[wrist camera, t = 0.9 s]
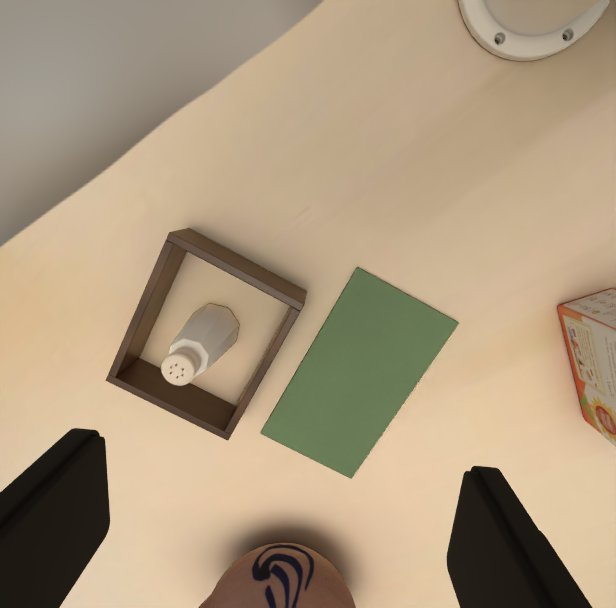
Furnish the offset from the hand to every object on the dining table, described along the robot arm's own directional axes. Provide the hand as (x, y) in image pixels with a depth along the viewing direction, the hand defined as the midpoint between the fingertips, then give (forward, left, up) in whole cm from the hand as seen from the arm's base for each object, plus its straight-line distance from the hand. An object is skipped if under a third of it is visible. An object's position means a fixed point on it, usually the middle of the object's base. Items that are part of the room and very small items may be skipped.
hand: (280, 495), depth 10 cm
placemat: (+9, +9, -31) cm, 33 cm away
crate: (+11, -7, -31) cm, 33 cm away
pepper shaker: (+11, -7, -31) cm, 34 cm away
